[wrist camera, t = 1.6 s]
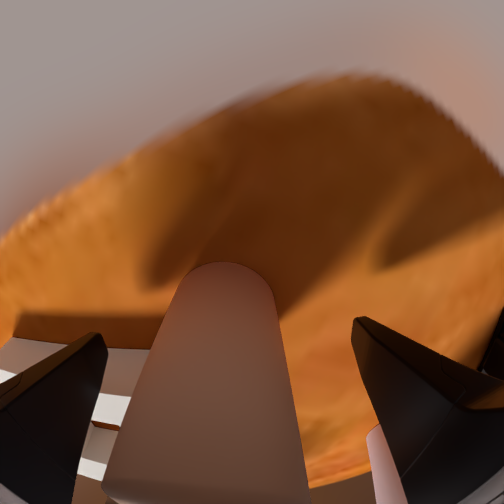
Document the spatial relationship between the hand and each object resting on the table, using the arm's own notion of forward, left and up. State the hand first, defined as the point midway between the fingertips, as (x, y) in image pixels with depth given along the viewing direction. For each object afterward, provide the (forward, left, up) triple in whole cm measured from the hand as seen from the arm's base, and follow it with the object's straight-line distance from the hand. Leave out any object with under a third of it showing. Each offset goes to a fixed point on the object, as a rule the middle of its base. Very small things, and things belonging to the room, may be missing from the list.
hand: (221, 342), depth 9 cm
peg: (0, 0, -2) cm, 2 cm away
